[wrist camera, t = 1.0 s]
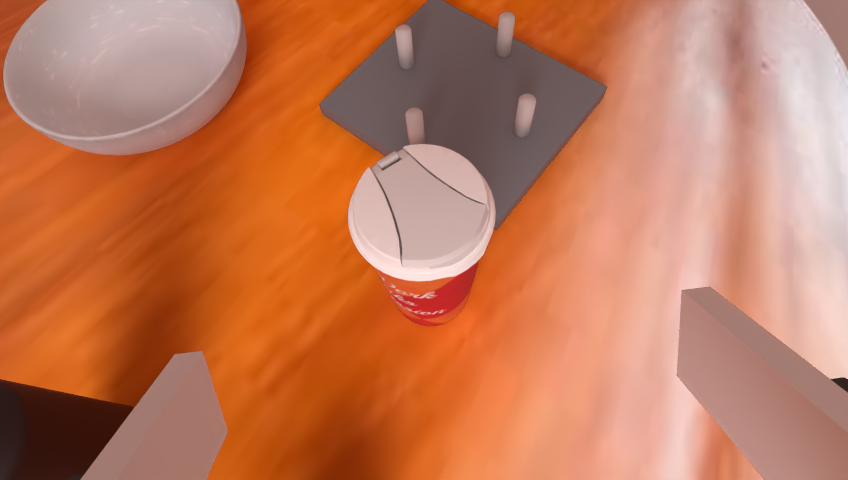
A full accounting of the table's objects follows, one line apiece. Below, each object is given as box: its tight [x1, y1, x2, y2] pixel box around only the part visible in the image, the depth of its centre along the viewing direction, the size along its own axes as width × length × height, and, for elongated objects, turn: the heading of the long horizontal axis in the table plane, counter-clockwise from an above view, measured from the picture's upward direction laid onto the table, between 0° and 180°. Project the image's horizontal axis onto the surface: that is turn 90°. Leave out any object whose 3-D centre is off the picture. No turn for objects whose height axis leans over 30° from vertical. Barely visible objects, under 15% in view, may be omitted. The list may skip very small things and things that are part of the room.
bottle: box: [0, 379, 135, 480], centre depth 28 cm, size 7×7×20 cm
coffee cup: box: [348, 144, 496, 326], centre depth 34 cm, size 8×8×15 cm
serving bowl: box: [3, 0, 247, 155], centre depth 48 cm, size 21×21×7 cm
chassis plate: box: [319, 0, 607, 230], centre depth 46 cm, size 20×17×6 cm
